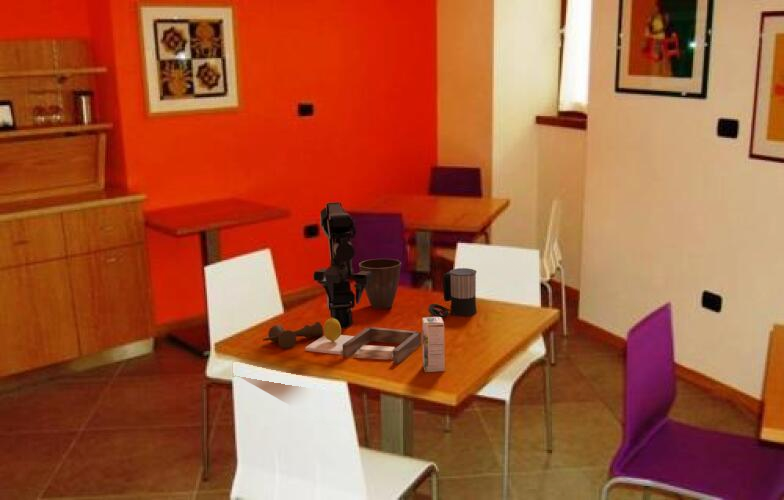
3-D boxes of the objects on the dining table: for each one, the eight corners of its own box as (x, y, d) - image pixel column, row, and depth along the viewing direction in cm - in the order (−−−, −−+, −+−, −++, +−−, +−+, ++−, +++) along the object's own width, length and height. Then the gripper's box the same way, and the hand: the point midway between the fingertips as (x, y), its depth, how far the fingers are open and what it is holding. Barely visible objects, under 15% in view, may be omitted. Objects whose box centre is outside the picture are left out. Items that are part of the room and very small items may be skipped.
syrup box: (422, 365, 232) (420, 317, 229) (442, 364, 233) (441, 316, 230) (424, 372, 227) (423, 323, 224) (445, 371, 227) (444, 322, 224)
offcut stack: (354, 358, 241) (354, 349, 241) (358, 354, 245) (358, 344, 244) (393, 361, 238) (393, 351, 238) (396, 356, 242) (396, 346, 241)
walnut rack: (343, 357, 242) (342, 344, 241) (368, 338, 258) (368, 326, 257) (398, 364, 234) (397, 351, 233) (421, 344, 250) (421, 331, 249)
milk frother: (481, 310, 282) (481, 269, 279) (460, 323, 269) (459, 280, 266) (446, 305, 290) (445, 265, 287) (423, 317, 277) (422, 275, 274)
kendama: (327, 341, 258) (269, 353, 248) (314, 334, 266) (257, 345, 256) (326, 323, 257) (268, 334, 247) (313, 317, 265) (256, 327, 255)
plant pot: (359, 301, 299) (357, 259, 295) (399, 299, 300) (398, 257, 297) (362, 313, 284) (360, 269, 281) (404, 310, 286) (403, 266, 282)
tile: (305, 350, 249) (305, 347, 249) (327, 336, 261) (327, 333, 261) (340, 354, 244) (340, 351, 244) (360, 340, 257) (360, 337, 256)
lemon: (339, 345, 249) (337, 320, 248) (322, 344, 251) (320, 320, 249) (343, 339, 255) (342, 315, 253) (327, 338, 256) (325, 314, 254)
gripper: (302, 258, 249) (306, 307, 252) (357, 262, 242) (359, 312, 245) (320, 250, 259) (323, 297, 262) (373, 253, 252) (375, 302, 255)
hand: (344, 302), depth 256 cm, fingers open, 9 cm apart
